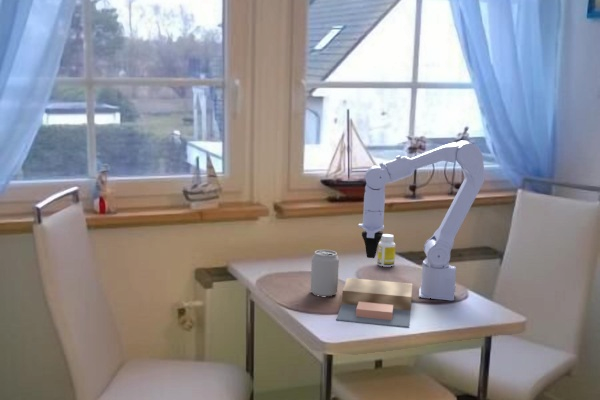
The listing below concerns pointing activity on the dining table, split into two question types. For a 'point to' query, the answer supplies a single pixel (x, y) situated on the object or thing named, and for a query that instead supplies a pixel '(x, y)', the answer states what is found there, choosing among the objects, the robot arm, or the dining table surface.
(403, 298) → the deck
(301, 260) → the dining table surface
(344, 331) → the dining table surface
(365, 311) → the pink rectangular block
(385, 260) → the supplement bottle
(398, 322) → the mat
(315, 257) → the can
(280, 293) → the dining table surface
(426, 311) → the dining table surface
